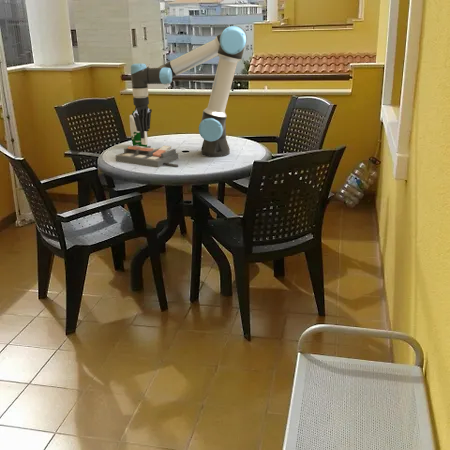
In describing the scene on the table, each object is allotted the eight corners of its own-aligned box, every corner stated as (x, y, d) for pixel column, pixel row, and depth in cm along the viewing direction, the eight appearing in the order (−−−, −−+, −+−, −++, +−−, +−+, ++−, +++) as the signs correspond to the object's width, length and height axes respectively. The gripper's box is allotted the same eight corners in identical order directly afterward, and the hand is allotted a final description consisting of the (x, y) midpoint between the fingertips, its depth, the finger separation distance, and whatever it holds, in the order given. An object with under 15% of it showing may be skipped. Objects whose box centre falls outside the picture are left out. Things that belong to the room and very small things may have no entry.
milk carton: (146, 145, 303) (143, 109, 295) (149, 148, 295) (146, 112, 287) (131, 146, 301) (127, 110, 293) (133, 150, 293) (129, 113, 285)
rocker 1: (146, 149, 279) (146, 147, 279) (134, 149, 271) (134, 147, 270) (140, 148, 281) (140, 146, 281) (127, 148, 273) (127, 146, 272)
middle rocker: (159, 150, 275) (159, 148, 275) (146, 151, 267) (147, 148, 266) (152, 150, 277) (152, 147, 277) (140, 150, 269) (140, 147, 269)
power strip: (192, 160, 268) (191, 150, 266) (172, 169, 254) (172, 158, 252) (137, 153, 285) (136, 144, 283) (116, 161, 271) (115, 151, 270)
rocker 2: (171, 148, 271) (170, 146, 270) (160, 156, 264) (159, 154, 263) (164, 147, 273) (164, 145, 272) (153, 155, 266) (152, 153, 265)
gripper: (143, 94, 266) (146, 140, 275) (126, 98, 256) (130, 146, 264) (155, 95, 262) (158, 142, 271) (138, 99, 252) (142, 147, 261)
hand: (144, 144), depth 268 cm, fingers closed
